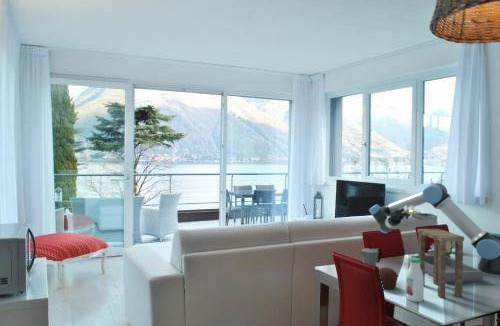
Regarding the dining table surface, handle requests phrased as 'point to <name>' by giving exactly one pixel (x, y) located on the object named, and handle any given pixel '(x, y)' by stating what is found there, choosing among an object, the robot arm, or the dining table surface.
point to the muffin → (388, 278)
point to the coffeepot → (371, 255)
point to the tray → (453, 270)
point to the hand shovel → (421, 215)
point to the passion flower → (433, 250)
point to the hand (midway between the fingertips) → (409, 207)
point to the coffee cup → (448, 246)
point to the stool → (442, 258)
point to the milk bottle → (415, 281)
